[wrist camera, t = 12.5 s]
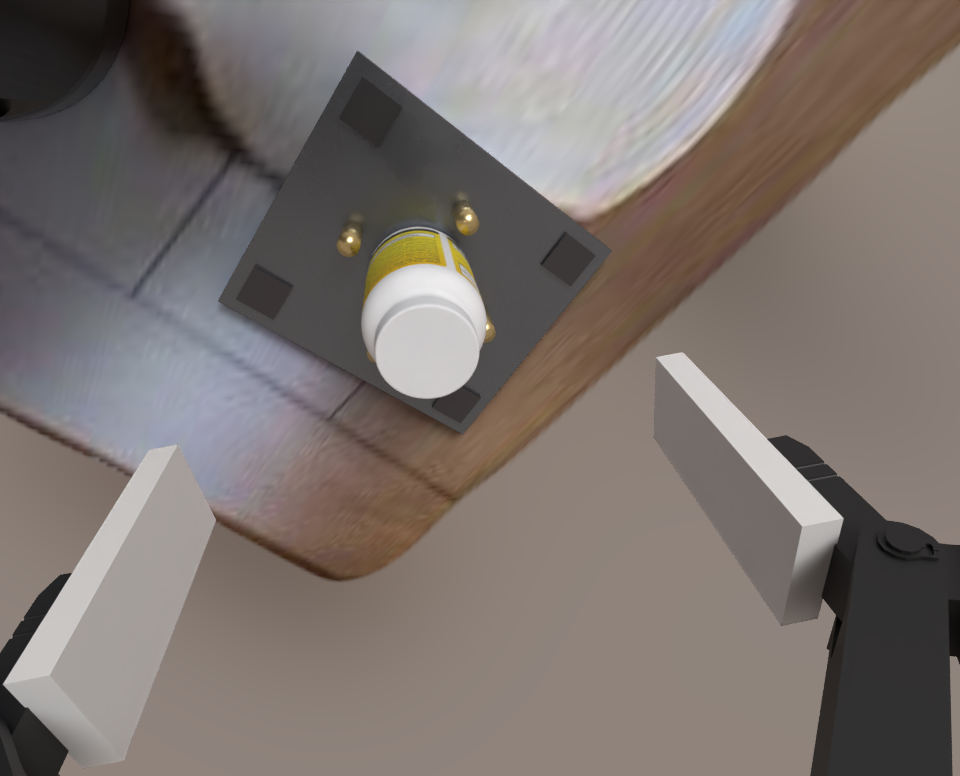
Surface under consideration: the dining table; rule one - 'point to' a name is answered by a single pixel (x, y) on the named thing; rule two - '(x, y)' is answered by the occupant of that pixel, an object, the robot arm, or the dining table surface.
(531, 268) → the plate
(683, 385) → the robot arm
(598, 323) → the dining table surface
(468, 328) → the pill bottle
